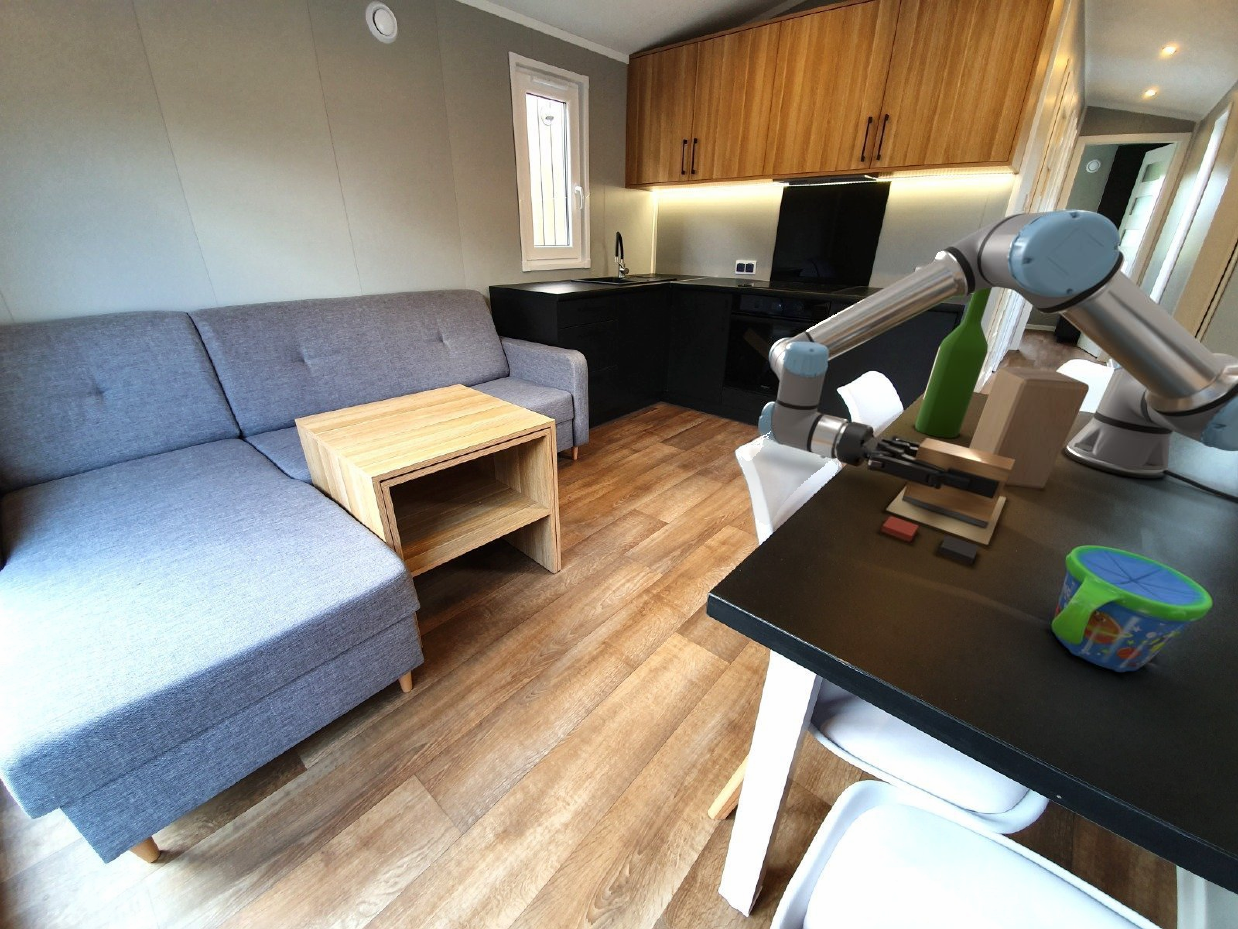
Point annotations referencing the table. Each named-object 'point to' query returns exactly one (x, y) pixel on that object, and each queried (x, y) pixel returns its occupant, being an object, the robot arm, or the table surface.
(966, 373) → the wine bottle
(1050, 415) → the block
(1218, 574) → the table surface
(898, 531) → the crumb
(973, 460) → the eraser
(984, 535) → the board
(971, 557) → the crumb
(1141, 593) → the snack cup
